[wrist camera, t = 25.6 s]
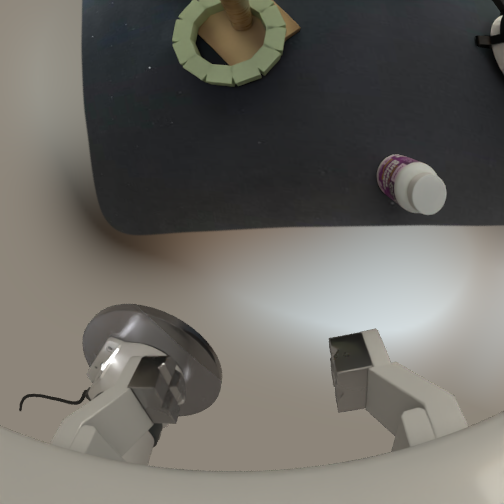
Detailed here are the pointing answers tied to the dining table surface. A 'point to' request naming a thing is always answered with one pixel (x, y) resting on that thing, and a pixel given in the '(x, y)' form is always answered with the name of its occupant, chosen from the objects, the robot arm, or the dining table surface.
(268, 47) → the ring
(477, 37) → the coffee press
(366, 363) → the robot arm
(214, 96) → the dining table surface
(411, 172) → the pill bottle
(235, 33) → the hanger post
